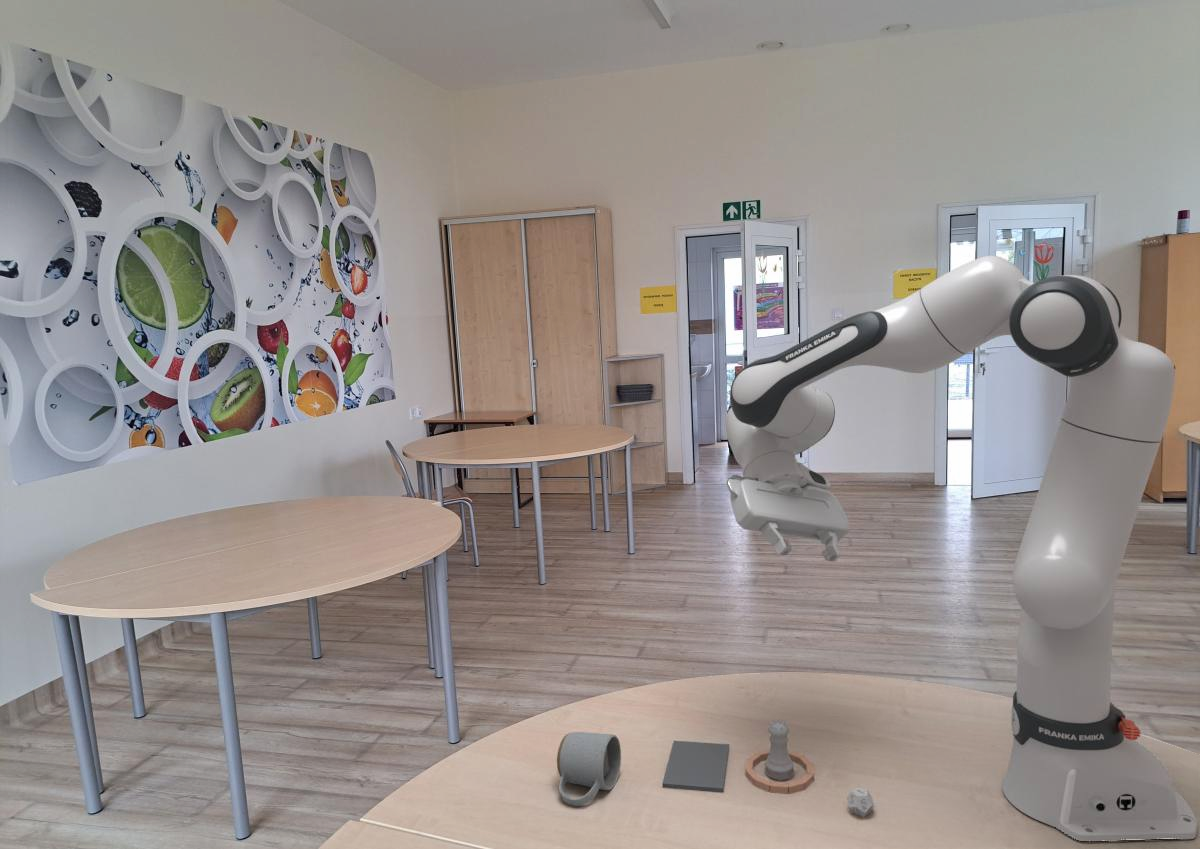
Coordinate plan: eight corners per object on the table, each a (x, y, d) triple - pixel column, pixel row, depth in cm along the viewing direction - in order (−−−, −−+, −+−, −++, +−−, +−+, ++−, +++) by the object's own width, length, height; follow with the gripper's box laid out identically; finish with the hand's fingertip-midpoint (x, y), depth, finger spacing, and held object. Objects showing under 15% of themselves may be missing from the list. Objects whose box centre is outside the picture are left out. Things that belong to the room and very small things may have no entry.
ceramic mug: (575, 763, 127) (571, 718, 126) (623, 771, 124) (620, 725, 123) (547, 804, 117) (542, 756, 116) (599, 814, 114) (595, 764, 113)
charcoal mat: (729, 747, 129) (729, 744, 129) (723, 792, 117) (723, 788, 117) (673, 743, 131) (673, 740, 131) (662, 787, 119) (662, 783, 119)
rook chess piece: (790, 763, 123) (789, 715, 122) (798, 780, 119) (797, 730, 118) (761, 766, 123) (760, 717, 122) (768, 783, 119) (767, 732, 118)
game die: (864, 823, 109) (863, 803, 108) (841, 810, 112) (841, 790, 111) (879, 812, 111) (879, 792, 110) (857, 800, 114) (856, 781, 113)
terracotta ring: (812, 757, 125) (812, 751, 125) (814, 795, 115) (814, 789, 115) (747, 752, 127) (747, 746, 127) (744, 789, 117) (744, 783, 117)
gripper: (734, 460, 120) (766, 535, 110) (835, 479, 129) (872, 550, 120) (712, 486, 123) (741, 561, 114) (812, 504, 133) (846, 574, 123)
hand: (809, 556), depth 117 cm, fingers open, 8 cm apart
